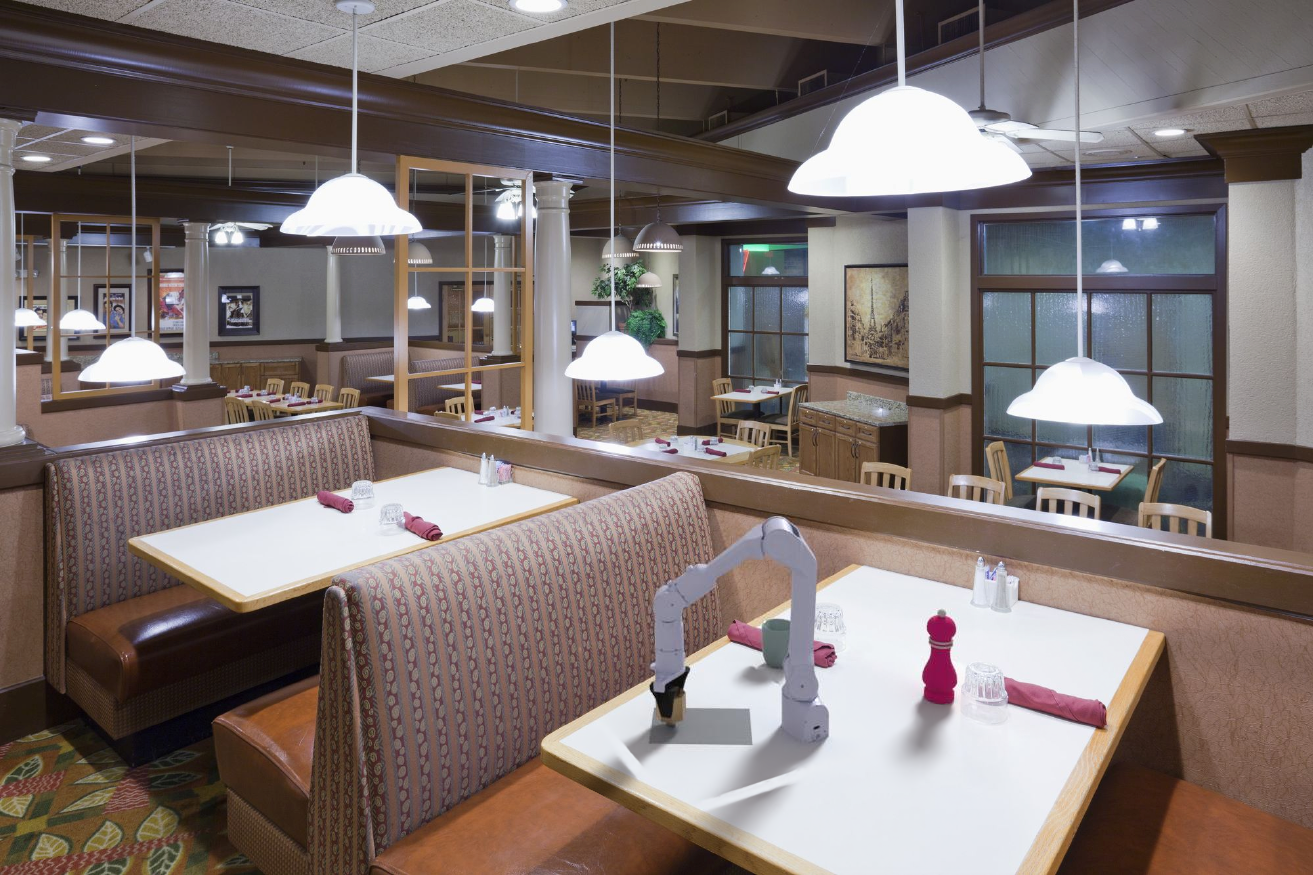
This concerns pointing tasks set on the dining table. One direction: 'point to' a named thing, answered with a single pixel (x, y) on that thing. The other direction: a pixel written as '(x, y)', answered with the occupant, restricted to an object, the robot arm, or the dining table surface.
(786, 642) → the cup
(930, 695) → the pepper mill
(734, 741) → the slate block
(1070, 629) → the dining table surface
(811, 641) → the robot arm
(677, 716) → the bronze ring
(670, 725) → the steel pin
